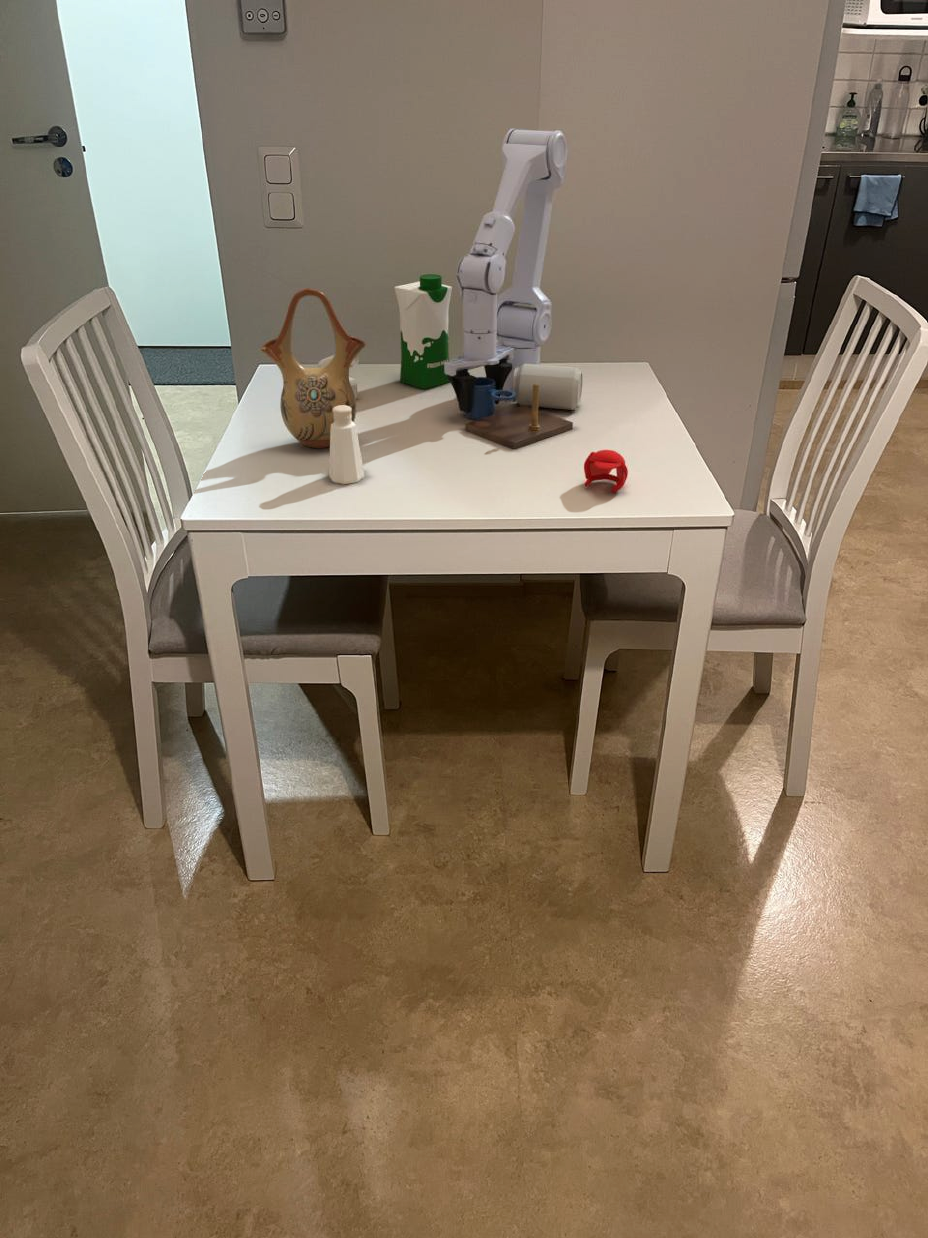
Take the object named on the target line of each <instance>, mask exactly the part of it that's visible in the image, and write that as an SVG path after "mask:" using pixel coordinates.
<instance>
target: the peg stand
mask: <svg viewBox="0 0 928 1238" xmlns="http://www.w3.org/2000/svg"><path fill="white" fill-rule="evenodd" d="M538 397H539V385H538V384H537V383H535V384H533V396H532V407H529V406H524V405H522V406H521V405H519V406H516V407H513V408H511V409H507V410H504V411H501V412H497V413H494V414H493V415H491V416H488V417H484V418H481V419H478V420H477V419H474V420H472V421H469V422H465V423H464V424H465V425H464V427H465V429H464V430H465V431H467V432H469V433H472V434H474V435H477V436H480V437H482V438H485V439H487V440H490V441H492V442H495V443H497V444H500V445H502V446H505V447H507V448H510V449H513V450H516V449H519V448H522V447H525V446H527V445H531V444H535V443H537V442H538V441H539V442H540V441H542V440H545V439H548V438H551V437H553V436H556V435H559V434H562V433H565V432H569V431H570V430H573V428H574V423H573V421H570V420H567V419H565V418H561V417H559V416H556V415H553V414H550V413H547V412H544V411H541V410H539V407H538Z"/></svg>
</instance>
